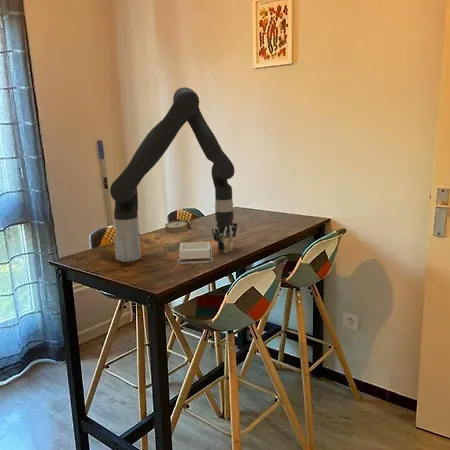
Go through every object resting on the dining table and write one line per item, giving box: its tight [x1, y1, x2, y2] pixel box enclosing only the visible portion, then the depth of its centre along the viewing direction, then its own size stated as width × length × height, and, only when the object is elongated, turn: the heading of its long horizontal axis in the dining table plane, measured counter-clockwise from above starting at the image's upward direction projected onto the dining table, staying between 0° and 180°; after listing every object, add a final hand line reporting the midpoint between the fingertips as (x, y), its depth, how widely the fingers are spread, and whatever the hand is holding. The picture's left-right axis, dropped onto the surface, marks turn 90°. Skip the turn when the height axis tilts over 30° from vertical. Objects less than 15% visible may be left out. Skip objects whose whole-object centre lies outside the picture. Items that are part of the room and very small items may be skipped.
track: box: [176, 243, 214, 265], centre depth 195 cm, size 25×14×1 cm, turn 3°
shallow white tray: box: [177, 241, 213, 260], centre depth 190 cm, size 12×13×4 cm
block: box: [217, 235, 234, 254], centre depth 198 cm, size 4×4×6 cm
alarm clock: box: [163, 218, 192, 234], centre depth 237 cm, size 11×5×15 cm
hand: (225, 248), depth 199 cm, fingers closed on block, 4 cm apart
